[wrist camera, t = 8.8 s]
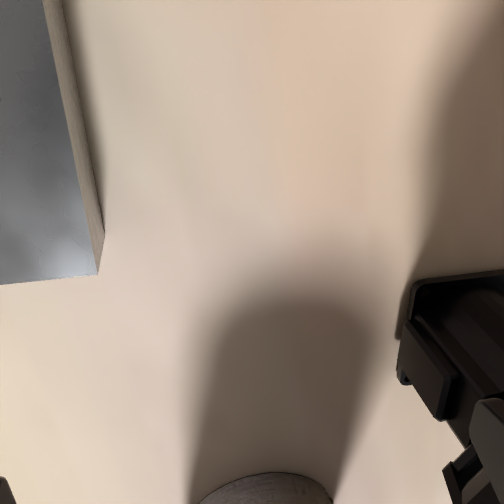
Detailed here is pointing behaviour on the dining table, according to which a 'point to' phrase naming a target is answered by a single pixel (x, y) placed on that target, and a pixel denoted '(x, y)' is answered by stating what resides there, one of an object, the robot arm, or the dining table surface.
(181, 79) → the dining table surface
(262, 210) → the dining table surface
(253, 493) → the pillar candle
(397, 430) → the dining table surface
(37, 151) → the grey slotted plate
